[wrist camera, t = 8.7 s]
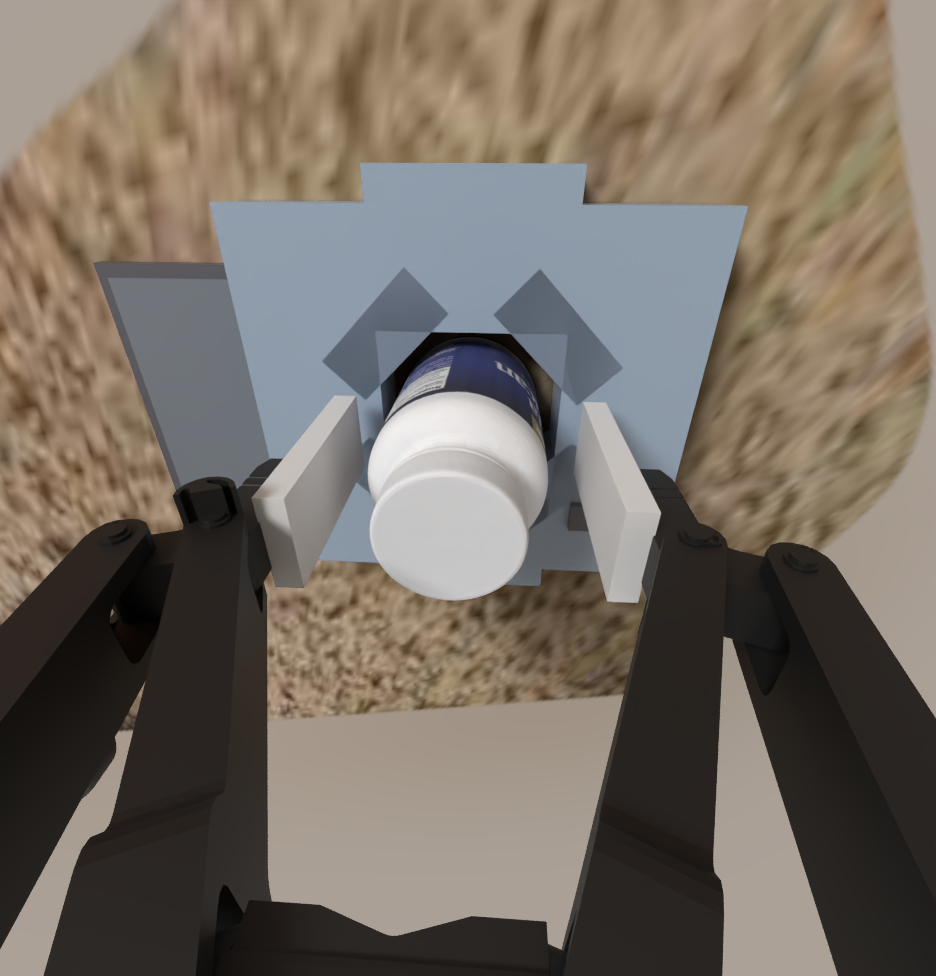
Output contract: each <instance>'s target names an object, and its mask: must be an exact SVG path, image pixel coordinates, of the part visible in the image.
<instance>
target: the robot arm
mask: <svg viewBox="0 0 936 976" xmlns="http://www.w3.org/2000/svg"><path fill="white" fill-rule="evenodd" d="M364 466H365V465H364V456H363V448H362V440H361V431H360V423H359V415H358V407H357V398H356V396H337V395H334V397H333V398H332V399H331V400H330V402H329V403H328V404H327V405H326V407H325V408H324V409H323V410H322V412H321V413H320V414H319V415H318V416H317V418H316V419H315V420H314V421H313V423H312V424H311V425H310V426H309V428H308V429H307V430H306V431H305V433H304V434H303V435H302V436H301V437H300V439H299V440H298V441H297V442H296V444H295V445H294V446H293V447H292V449H291V450H290V451H289V452H288V454H287V455H286V456H285V457H284V458H283V459H277V458H271V459H269V460H268V461H266V462H264V463H262V464H261V465H259V466H257V467H256V469H255V470H254V471H253V472H252V473H251V474H250V475H249V478H247V479H246V480H245V481H244V482H243V483H242V486H240V487H239V488H238V489H237V488H236V485H235V482H234V481H233V480H231V479H230V478H227V477H220V476H216V477H206V478H201V479H197V480H194V481H192V482H189V483H187V484H185V485H183V486H182V487H180V488H179V489H177V490H176V492H175V493H174V495H173V498H174V500H175V503H176V506H177V508H178V511H179V514H180V516H181V519H182V522H183V525H184V526H183V530H179V531H173V532H166V533H160V534H153V535H151V533H150V531H149V528H148V526H147V524H146V522H144V521H141V520H139V519H125V520H116V521H112V522H111V523H110V522H109V523H106V524H104V525H102V526H101V527H99V528H97V529H95V530H93V531H91V532H90V533H89V534H88V535H86V536H85V537H84V538H83V539H82V540H81V541H80V542H79V543H78V544H77V545H76V546H75V547H74V549H73V550H72V551H71V552H70V553H69V554H68V555H67V556H66V557H65V558H64V559H63V560H62V561H61V562H60V563H59V564H58V566H57V567H56V568H55V569H54V570H53V571H52V572H51V573H50V574H49V575H48V576H47V577H46V578H45V579H44V580H43V581H42V583H41V584H40V585H39V586H38V587H37V588H36V589H35V590H34V591H33V592H32V593H31V594H30V595H29V596H28V597H27V598H26V600H25V601H24V602H23V603H22V604H21V605H20V606H19V607H18V608H17V609H16V610H15V611H14V612H13V613H12V614H11V615H10V617H9V618H8V619H7V620H6V621H5V622H4V623H3V624H2V625H1V626H0V948H1V947H2V945H3V943H4V941H5V939H6V937H7V936H8V934H9V932H10V930H11V928H12V926H13V924H14V923H15V921H16V919H17V917H18V915H19V913H20V912H21V910H22V908H23V906H24V904H25V902H26V900H27V898H28V897H29V895H30V893H31V891H32V889H33V887H34V885H35V884H36V882H37V880H38V878H39V876H40V875H41V873H42V871H43V869H44V867H45V865H46V863H47V861H48V860H49V858H50V856H51V854H52V852H53V850H54V849H55V847H56V845H57V843H58V841H59V839H60V838H61V836H62V834H63V832H64V830H65V828H66V826H67V824H68V823H69V821H70V819H71V817H72V815H73V813H74V812H75V810H76V808H77V806H78V804H79V802H80V801H81V799H82V798H84V797H85V796H86V795H87V794H88V793H89V792H90V791H91V790H92V789H93V788H94V786H95V785H96V783H97V782H98V780H99V779H100V778H101V776H102V775H103V773H104V772H105V771H106V769H107V768H108V766H109V765H110V763H111V762H112V760H113V759H114V756H115V753H116V741H115V735H116V734H117V732H118V730H119V728H120V727H121V725H122V723H123V721H124V719H125V717H126V715H127V714H128V712H129V710H130V708H131V706H132V704H133V703H134V701H135V699H136V697H137V695H138V693H139V691H140V690H141V688H142V686H143V684H144V682H145V686H144V690H143V694H142V698H141V702H140V706H139V710H138V714H137V718H136V722H135V726H134V730H133V735H132V739H131V743H130V747H129V751H128V755H127V759H126V763H125V767H124V772H123V775H122V779H121V784H120V788H119V792H118V796H117V800H116V804H115V808H114V812H113V816H112V818H111V822H110V824H109V826H108V827H107V829H106V830H105V831H104V832H102V833H100V834H97V835H95V836H92V837H90V838H89V840H88V841H87V843H86V844H85V846H84V847H83V848H82V850H81V852H80V854H79V857H78V860H77V862H76V865H75V867H74V870H73V874H72V877H71V881H70V884H69V888H68V891H67V895H66V899H65V902H64V905H63V909H62V912H61V916H60V920H59V923H58V927H57V930H56V934H55V937H54V941H53V944H52V948H51V952H50V955H49V958H48V962H47V966H46V969H45V972H44V976H722V965H723V930H724V902H723V901H724V900H723V899H724V897H723V889H722V884H721V880H720V879H719V878H718V876H717V875H716V874H715V872H714V867H713V847H714V846H713V845H714V827H715V805H716V783H717V763H718V742H719V720H720V699H721V677H722V657H723V636H724V637H727V638H731V639H733V644H734V647H735V649H736V653H737V656H738V660H739V663H740V666H741V669H742V672H743V675H744V679H745V682H746V685H747V688H748V691H749V694H750V697H751V701H752V704H753V707H754V710H755V714H756V717H757V720H758V723H759V726H760V729H761V733H762V736H763V739H764V742H765V745H766V748H767V751H768V755H769V758H770V761H771V764H772V767H773V770H774V773H775V777H776V780H777V783H778V787H779V790H780V793H781V796H782V799H783V802H784V806H785V809H786V812H787V815H788V818H789V821H790V825H791V828H792V831H793V834H794V837H795V840H796V844H797V847H798V850H799V853H800V856H801V859H802V863H803V866H804V869H805V872H806V875H807V878H808V882H809V885H810V888H811V891H812V894H813V897H814V901H815V904H816V907H817V910H818V913H819V917H820V920H821V923H822V926H823V929H824V932H825V935H826V939H827V942H828V945H829V948H830V952H831V955H832V958H833V961H834V964H835V967H836V970H837V974H838V976H936V718H935V717H934V715H933V713H932V712H931V710H930V709H929V707H928V706H927V704H926V703H925V701H924V700H923V698H922V697H921V695H920V694H919V692H918V691H917V689H916V687H915V686H914V685H913V683H912V681H911V680H910V678H909V677H908V675H907V674H906V672H905V671H904V669H903V668H902V666H901V665H900V663H899V661H898V660H897V658H896V657H895V655H894V654H893V652H892V651H891V649H890V648H889V646H888V645H887V643H886V642H885V640H884V639H883V637H882V636H881V634H880V632H879V631H878V629H877V628H876V626H875V625H874V624H873V622H872V620H871V619H870V617H869V616H868V614H867V613H866V611H865V610H864V608H863V606H862V605H861V604H860V602H859V600H858V599H857V597H856V596H855V594H854V593H853V591H852V590H851V588H850V587H849V585H848V584H847V582H846V580H845V579H844V577H843V576H842V574H841V573H840V571H839V570H838V568H837V567H836V565H835V564H834V563H833V562H832V561H831V560H830V559H829V558H828V557H826V556H825V555H823V554H821V553H820V552H818V551H817V550H815V549H813V548H809V547H808V546H804V545H799V544H795V543H780V542H779V543H776V544H773V545H771V546H770V547H769V548H768V549H767V551H766V554H765V556H764V557H762V556H758V555H753V554H749V553H745V552H740V551H737V550H733V549H730V548H728V545H727V542H726V539H725V538H724V537H723V536H722V535H721V534H720V533H719V532H718V531H716V530H714V529H713V528H711V527H709V526H706V525H703V524H700V523H698V521H697V519H696V518H695V516H694V514H693V513H692V511H691V509H690V508H689V506H688V504H687V503H686V501H685V500H683V496H682V494H681V493H680V491H678V488H677V486H676V484H675V483H674V481H673V479H672V478H670V477H669V476H668V475H666V474H665V473H664V472H662V471H661V470H659V469H639V468H638V466H637V464H636V462H635V460H634V458H633V456H632V454H631V452H630V450H629V448H628V446H627V444H626V442H625V440H624V438H623V436H622V434H621V432H620V430H619V428H618V426H617V424H616V422H615V420H614V418H613V416H612V414H611V412H610V410H609V408H608V406H607V404H606V402H583V407H582V414H581V421H580V428H579V436H578V443H577V450H576V458H575V465H574V476H575V480H576V484H577V488H578V492H579V495H580V499H581V503H582V507H583V511H584V514H585V518H586V522H587V526H588V530H589V534H590V537H591V541H592V545H593V549H594V553H595V557H596V560H597V564H598V568H599V572H600V576H601V580H602V583H603V587H604V591H605V595H606V599H607V601H608V602H630V603H638V600H639V596H640V593H641V589H642V586H643V589H644V591H645V594H646V597H647V601H646V605H645V609H644V612H643V616H642V620H641V623H640V627H639V631H638V637H637V642H636V646H635V650H634V654H633V658H632V662H631V666H630V671H629V675H628V679H627V683H626V687H625V691H624V696H623V700H622V704H621V708H620V712H619V716H618V721H617V725H616V729H615V733H614V737H613V742H612V746H611V750H610V754H609V758H608V762H607V767H606V770H605V775H604V779H603V783H602V787H601V791H600V796H599V800H598V804H597V808H596V812H595V817H594V821H593V825H592V829H591V833H590V838H589V841H588V846H587V850H586V854H585V858H584V862H583V867H582V870H581V874H580V879H579V883H578V887H577V891H576V895H575V899H574V903H573V907H572V911H571V915H570V919H569V923H568V927H567V930H566V934H565V938H564V942H563V946H562V950H561V949H558V948H556V947H554V946H551V945H549V944H548V941H547V925H546V924H547V923H546V922H543V921H529V920H515V919H501V918H488V917H475V916H471V917H467V918H464V919H460V920H456V921H452V922H448V923H445V924H441V925H437V926H433V927H430V928H426V929H422V930H419V931H415V932H411V933H407V934H403V935H399V936H389V935H386V934H383V933H381V932H379V931H376V930H374V929H372V928H370V927H368V926H365V925H363V924H361V923H359V922H356V921H354V920H352V919H350V918H347V917H346V916H343V915H341V914H339V913H337V912H335V911H332V910H330V909H328V908H326V907H324V906H321V905H312V904H300V903H285V902H272V901H271V895H270V889H269V881H268V861H267V860H268V859H267V858H268V855H267V854H268V844H267V843H268V840H267V839H268V830H267V829H268V814H267V813H268V811H267V593H266V590H265V586H264V583H263V582H264V580H265V579H266V577H267V575H268V574H269V572H270V571H271V572H272V576H273V580H274V584H275V587H291V588H304V587H305V585H306V583H307V581H308V579H309V577H310V575H311V573H312V571H313V569H314V567H315V565H316V563H317V561H318V559H319V557H320V555H321V553H322V551H323V549H324V547H325V545H326V543H327V541H328V539H329V537H330V535H331V533H332V531H333V529H334V527H335V525H336V523H337V520H338V518H339V516H340V514H341V512H342V510H343V508H344V506H345V504H346V502H347V500H348V498H349V496H350V494H351V492H352V490H353V488H354V486H355V484H356V482H357V480H358V478H359V476H360V474H361V472H362V470H363V468H364ZM112 609H113V611H114V614H113V615H112V616H111V618H110V614H111V610H112ZM145 680H146V681H145Z"/></svg>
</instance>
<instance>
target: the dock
mask: <svg viewBox="0 0 936 976" xmlns="http://www.w3.org/2000/svg"><path fill="white" fill-rule="evenodd" d="M360 169H361V180H362V191H363V201H253V200H244V201H217V202H209V203H210V208H211V212H212V216H213V220H214V225H215V229H216V233H217V237H218V242H219V246H220V250H221V254H222V259H223V263H224V267H225V271H226V276H227V280H228V284H229V288H230V292H231V297H232V301H233V305H234V309H235V314H236V318H237V322H238V326H239V331H240V335H241V339H242V343H243V348H244V352H245V356H246V360H247V365H248V369H249V373H250V377H251V382H252V386H253V390H254V394H255V399H256V403H257V407H258V411H259V416H260V420H261V424H262V428H263V433H264V437H265V441H266V445H267V450H268V454H269V458H270V459H271V458H277V459H283V458H284V457H285V456H286V455H287V454H288V452H289V451H290V450H291V449H292V447H293V446H294V445H295V444H296V442H297V441H298V440H299V439H300V437H301V436H302V435H303V434H304V433H305V431H306V430H307V429H308V428H309V426H310V425H311V424H312V423H313V421H314V420H315V419H316V418H317V416H318V415H319V414H320V413H321V412H322V410H323V409H324V408H325V407H326V405H327V404H328V403H329V402H330V400H331V399H332V398H333V397H334V395H337V396H356V398H357V407H358V415H359V423H360V431H361V440H362V448H363V456H364V465H365V466H364V468H363V470H362V472H361V474H360V476H359V478H358V480H357V482H356V484H355V486H354V488H353V490H352V492H351V494H350V496H349V498H348V500H347V502H346V504H345V506H344V508H343V510H342V512H341V514H340V516H339V518H338V520H337V523H336V525H335V527H334V529H333V531H332V533H331V535H330V537H329V539H328V541H327V543H326V545H325V547H324V549H323V551H322V553H321V555H320V557H319V559H318V560H327V561H351V562H375V563H379V562H378V560H377V558H376V556H375V554H374V552H373V549H372V545H371V541H370V521H371V516H372V512H373V510H374V507H375V505H374V502H373V500H372V497H371V493H370V489H369V484H368V465H369V459H370V454H371V451H372V448H373V446H374V443H375V441H376V439H377V437H378V434H379V432H380V430H381V428H382V426H383V425H384V423H385V421H386V419H387V417H388V415H389V413H390V411H391V409H392V407H393V405H394V403H395V401H396V392H395V379H394V370H395V369H396V368H397V367H398V366H399V365H400V364H401V363H402V362H403V361H404V360H405V359H406V358H407V357H408V356H409V355H410V354H411V353H412V352H413V351H414V350H415V349H416V348H417V347H418V345H419V344H420V343H421V342H422V341H423V340H424V339H425V338H426V337H427V336H428V335H429V334H430V333H431V332H455V333H505V334H511V335H512V336H513V337H514V338H515V339H516V340H517V341H518V342H519V343H520V344H521V346H522V347H523V348H524V349H525V350H526V351H527V352H528V353H529V354H530V355H531V356H532V358H533V359H534V360H535V361H536V362H537V363H538V364H539V365H540V366H541V367H542V368H543V370H544V371H545V372H546V373H547V374H548V375H549V376H550V377H551V378H552V379H553V380H554V384H553V393H552V403H551V413H550V423H549V429H548V430H547V431H546V432H545V433H544V434H543V439H544V445H545V451H546V457H547V467H548V486H547V493H546V498H545V501H544V504H543V507H542V509H541V511H540V513H539V515H538V517H537V519H536V520H535V522H534V523H533V524H532V526H531V527H530V528H529V529H528V533H529V543H528V550H527V553H526V557H525V559H524V562H523V564H522V566H521V567H520V569H519V570H518V572H517V573H516V574H515V575H514V576H513V578H512V579H511V580H509V581H508V582H507V583H506V584H505V585H523V586H540V582H541V573H542V569H544V570H568V571H592V572H599V568H598V564H597V560H596V557H595V553H594V549H593V545H592V541H591V537H590V534H589V530H588V526H587V522H586V518H585V514H584V511H583V507H582V503H581V499H580V495H579V492H578V488H577V484H576V480H575V476H574V465H575V458H576V450H577V443H578V436H579V428H580V421H581V414H582V407H583V402H606V404H607V406H608V408H609V410H610V412H611V414H612V416H613V418H614V420H615V422H616V424H617V426H618V428H619V430H620V432H621V434H622V436H623V438H624V440H625V442H626V444H627V446H628V448H629V450H630V452H631V454H632V456H633V458H634V460H635V462H636V464H637V466H638V468H639V469H659V470H661V471H662V472H664V473H665V474H666V475H668V476H669V477H670V478H672V479H673V481H674V483H675V480H676V476H677V472H678V468H679V465H680V461H681V457H682V453H683V449H684V446H685V442H686V438H687V434H688V431H689V427H690V423H691V419H692V416H693V412H694V408H695V404H696V401H697V397H698V393H699V389H700V386H701V382H702V378H703V374H704V371H705V367H706V363H707V359H708V356H709V352H710V348H711V344H712V341H713V337H714V333H715V329H716V326H717V322H718V318H719V314H720V311H721V307H722V303H723V299H724V296H725V292H726V288H727V284H728V280H729V277H730V273H731V269H732V265H733V262H734V258H735V254H736V250H737V247H738V243H739V239H740V235H741V232H742V228H743V224H744V220H745V217H746V213H747V209H748V206H740V205H723V204H644V203H583V196H584V187H585V178H586V169H587V164H519V163H360Z"/></svg>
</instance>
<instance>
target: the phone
mask: <svg viewBox="0 0 936 976" xmlns="http://www.w3.org/2000/svg"><path fill="white" fill-rule="evenodd" d="M94 266H95V269H96V271H97V274H98V277H99V280H100V282H101V285H102V288H103V291H104V293H105V296H106V299H107V302H108V304H109V307H110V310H111V313H112V315H113V318H114V321H115V324H116V326H117V329H118V332H119V335H120V337H121V340H122V343H123V346H124V348H125V351H126V354H127V357H128V359H129V362H130V365H131V368H132V370H133V373H134V376H135V379H136V381H137V384H138V387H139V390H140V392H141V395H142V398H143V401H144V403H145V406H146V409H147V412H148V415H149V417H150V420H151V423H152V426H153V428H154V431H155V434H156V437H157V439H158V442H159V445H160V448H161V450H162V453H163V456H164V459H165V461H166V464H167V467H168V470H169V472H170V475H171V478H172V481H173V483H174V486H175V489H176V490H177V489H179V488H180V487H182V486H183V485H185V484H187V483H189V482H192V481H194V480H197V479H201V478H206V477H216V476H220V477H227V478H230V479H231V480H233V481H234V482H235V485H236V488H237V489H238V488H239V487H240V486H242V483H243V482H244V481H245V480H246V479H247V478H249V475H250V474H251V473H252V472H253V471H254V470H255V469H256V467H257V466H259V465H261V464H262V463H264V462H266V461H268V460H269V459H270V458H269V454H268V450H267V445H266V441H265V437H264V433H263V428H262V424H261V420H260V416H259V411H258V407H257V403H256V399H255V394H254V390H253V386H252V382H251V377H250V373H249V369H248V365H247V360H246V356H245V352H244V348H243V343H242V339H241V335H240V331H239V326H238V322H237V318H236V314H235V309H234V305H233V301H232V297H231V292H230V288H229V284H228V280H227V276H226V271H225V267H224V263H188V262H121V261H100V262H95V263H94Z"/></svg>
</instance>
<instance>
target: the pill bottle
mask: <svg viewBox="0 0 936 976" xmlns="http://www.w3.org/2000/svg"><path fill="white" fill-rule="evenodd" d="M368 484H369V489H370V493H371V497H372V500H373V502H374V505H375V507H374V510H373V512H372V516H371V521H370V541H371V545H372V549H373V552H374V554H375V556H376V558H377V560H378V562H379V563H380V565H381V566H382V568H383V569H384V570H385V571H386V572H387V573H388V574H389V575H390V576H391V577H392V578H393V579H394V580H395V581H397V582H398V583H399V584H401V585H402V586H404V587H405V588H407V589H409V590H411V591H413V592H416V593H418V594H421V595H423V596H426V597H430V598H435V599H441V600H467V599H473V598H477V597H480V596H484V595H486V594H489V593H491V592H493V591H495V590H497V589H499V588H500V587H502V586H503V585H505V584H506V583H507V582H508V581H509V580H511V579H512V578H513V576H514V575H515V574H516V573H517V572H518V570H519V569H520V567H521V566H522V564H523V562H524V559H525V557H526V553H527V550H528V543H529V533H528V529H529V528H530V527H531V526H532V524H533V523H534V522H535V520H536V519H537V517H538V515H539V513H540V511H541V509H542V507H543V504H544V501H545V498H546V493H547V486H548V467H547V457H546V451H545V445H544V439H543V433H542V424H541V418H540V414H539V408H538V402H537V396H536V391H535V387H534V384H533V381H532V378H531V376H530V374H529V372H528V370H527V369H526V367H525V365H524V364H523V363H522V362H521V361H520V359H519V358H518V357H517V356H516V355H515V354H513V353H512V352H511V351H510V350H508V349H507V348H505V347H504V346H502V345H500V344H498V343H496V342H494V341H491V340H488V339H484V338H478V337H461V338H455V339H452V340H448V341H445V342H443V343H441V344H439V345H437V346H435V347H434V348H432V349H431V350H430V351H428V352H427V353H426V354H425V355H424V356H423V357H422V358H421V359H420V360H419V361H418V362H417V364H416V365H415V367H414V368H413V369H412V371H411V373H410V375H409V377H408V379H407V381H406V382H405V384H404V386H403V388H402V390H401V392H400V394H399V396H398V398H397V399H396V401H395V403H394V405H393V407H392V409H391V411H390V413H389V415H388V417H387V419H386V421H385V423H384V425H383V426H382V428H381V430H380V432H379V434H378V437H377V439H376V441H375V443H374V446H373V448H372V451H371V454H370V459H369V465H368Z"/></svg>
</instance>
